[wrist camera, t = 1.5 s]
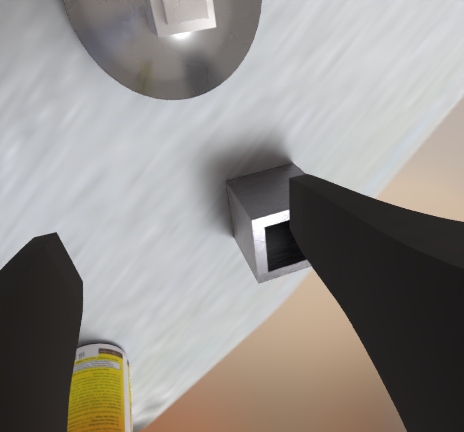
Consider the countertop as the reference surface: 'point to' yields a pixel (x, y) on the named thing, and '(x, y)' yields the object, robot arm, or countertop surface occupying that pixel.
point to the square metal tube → (265, 222)
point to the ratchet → (166, 41)
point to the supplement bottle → (100, 391)
